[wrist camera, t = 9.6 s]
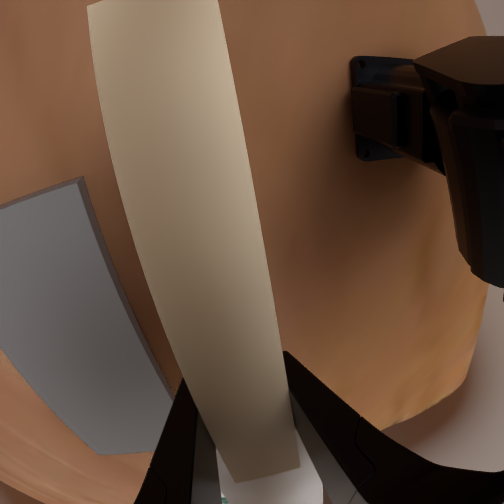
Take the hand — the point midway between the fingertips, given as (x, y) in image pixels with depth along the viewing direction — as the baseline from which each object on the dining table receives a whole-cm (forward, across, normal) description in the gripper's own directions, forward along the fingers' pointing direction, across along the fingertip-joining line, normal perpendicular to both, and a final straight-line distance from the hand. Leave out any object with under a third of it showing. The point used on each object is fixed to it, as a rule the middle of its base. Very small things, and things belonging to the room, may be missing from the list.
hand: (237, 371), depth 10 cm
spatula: (+1, 0, +2) cm, 2 cm away
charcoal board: (+11, +12, +9) cm, 19 cm away
